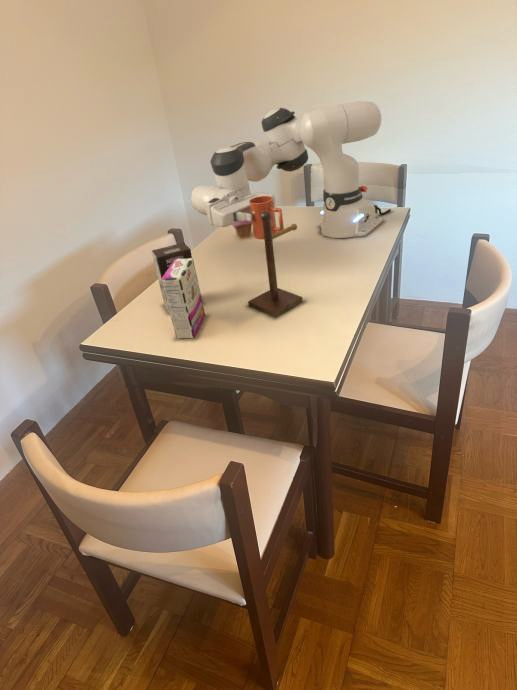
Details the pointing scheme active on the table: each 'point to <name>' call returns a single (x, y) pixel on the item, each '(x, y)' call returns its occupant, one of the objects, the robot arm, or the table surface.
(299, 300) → the mug stand
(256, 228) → the mug
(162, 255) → the coffee box
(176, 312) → the candy bar box
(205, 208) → the robot arm
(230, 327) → the table surface
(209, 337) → the table surface
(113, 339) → the table surface
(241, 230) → the cupcake
